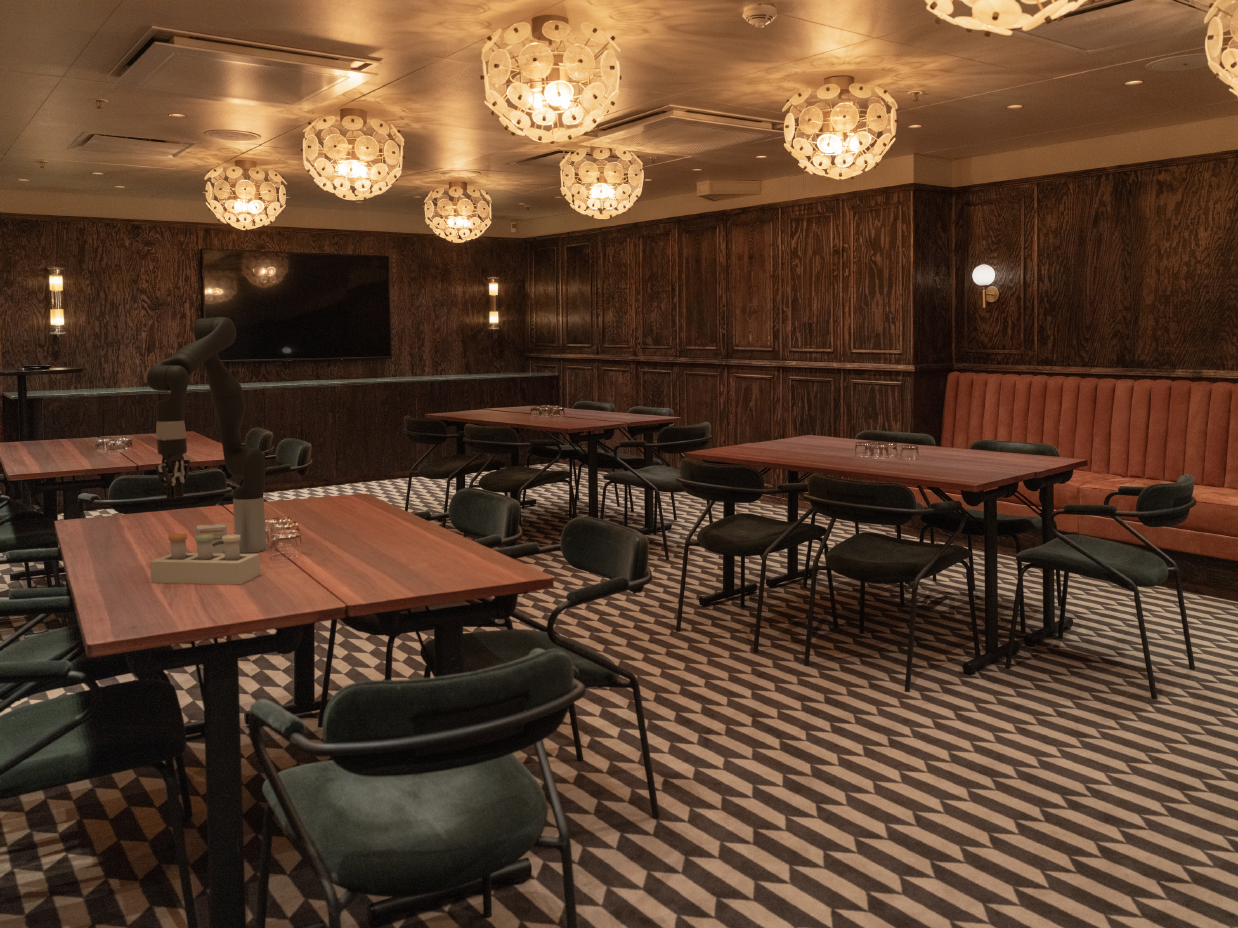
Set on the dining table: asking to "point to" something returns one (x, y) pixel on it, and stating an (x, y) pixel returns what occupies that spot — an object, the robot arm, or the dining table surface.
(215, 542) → the ink box
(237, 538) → the cream plunger
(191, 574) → the panel
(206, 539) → the sage plunger
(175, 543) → the terracotta plunger
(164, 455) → the robot arm
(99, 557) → the dining table surface
